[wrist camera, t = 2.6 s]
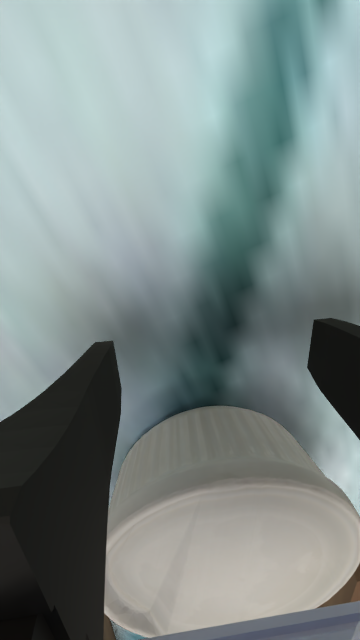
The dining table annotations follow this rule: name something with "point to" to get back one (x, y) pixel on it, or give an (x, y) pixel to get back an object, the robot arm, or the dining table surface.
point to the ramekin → (223, 526)
